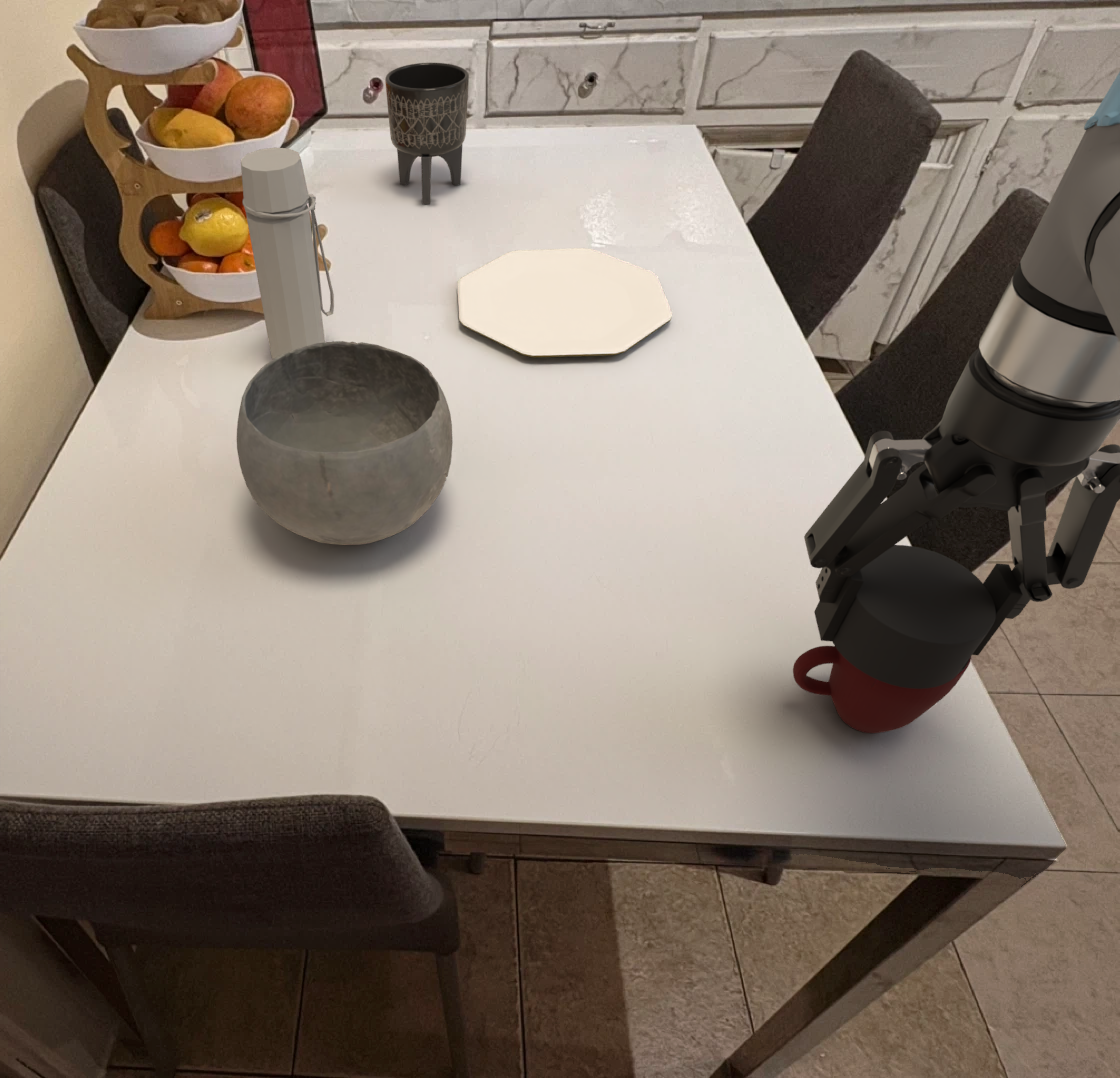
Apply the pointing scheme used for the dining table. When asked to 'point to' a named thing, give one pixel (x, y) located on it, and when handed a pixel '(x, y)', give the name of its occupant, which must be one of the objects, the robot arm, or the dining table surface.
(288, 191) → the water bottle
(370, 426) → the bowl
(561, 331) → the plate
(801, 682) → the mug
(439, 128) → the planter
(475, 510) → the dining table surface
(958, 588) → the puck
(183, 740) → the dining table surface
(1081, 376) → the robot arm
